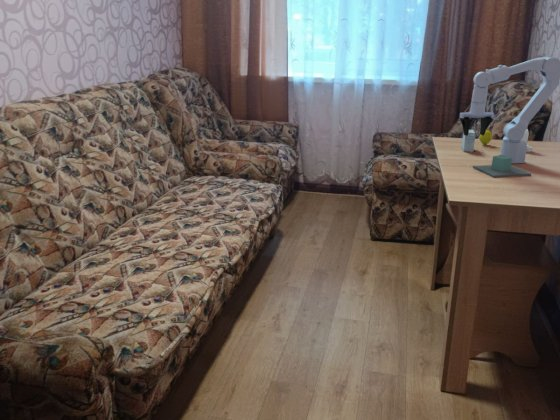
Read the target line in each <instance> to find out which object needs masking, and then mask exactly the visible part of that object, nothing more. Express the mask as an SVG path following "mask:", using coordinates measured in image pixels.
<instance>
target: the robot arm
mask: <svg viewBox="0 0 560 420" xmlns="http://www.w3.org/2000/svg"><path fill="white" fill-rule="evenodd" d="M531 70H534V71H538V72H540V74H541V76H542V80H543V81H542V82H543V83H542V84H541V85H540V87H539V88H538V89H537V91H536V92H535V93H534V95H532V97H531V98H530V100H529V101H528V102H527V103H526V105H525V106H524V107H523V108H522V110H521V111H520V112H519V114H518V115H517V116H515V117H514V118H513V119H512V120H511V121H510V122H508V123H506V124H505V125H504V126H503V130H502V131H503V132H502V133H503V135H504V136H503V138H502V140H501V141H502V143H501V147H500V153H499V154H500V155H504V156H508V157H512V163H511V164H526V156H527V152H526V151H527V145H528V143H527V144H526V142H525V141H523V140H521V139H522V138H523V136H524V132H525V130H526V129H528V126H529V124H530V122H531V121H532V119H533V118H534V117H535V116H536V114H537V113H538V112H539V111H540V110H541V108H542V107H543V106H544V104H545V103H546V102H547V100H548V99H549V98H550V97H551V95H552V94H553V93H554V92H555V91H556V89H557V87H559V85H560V59H559V58H557V57H552V56H550V55H545V56H543V57H536V58H532V59H529V60H526V61H524V62H520V63H517V64H514V65H512V66H511V65H510V66H507V65H502V64H499V65H497V67H494V68H491V69H489V68H487V69H485V71H478V72H477V73H476V74H475V75H474V77H473V78H472V79H473V81H472V82H473V90H472V96H471V100H470V101H471V102H470V108H469V111H466V112H459V120H460V122H461V123H460V124H461V126H462V131H463V132H464V135H466V136H468V133H469V130H470V127H471V123H472V118H475V119H476V118H477V119H478V118H479V119H480V128H479V129H480V130H479V135H480V134H481V135H484V134H485V132H486V129H488V128H489V126H490V125H491V123H492V121H493V118H494V116H495V113H494V112H491V111H490V112H489V111H488V112H486V106H487V99H488V91H489V86H490V85H491V84H492V85H493V84H497V83H500V82H502V81H507V80H508V79H509V78H510V77H511V75H516V74H520V73H523V72H527V71H531ZM463 132H462V133H463Z"/></svg>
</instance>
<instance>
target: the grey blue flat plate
mask: <svg viewBox="0 0 560 420" xmlns="http://www.w3.org/2000/svg"><path fill="white" fill-rule="evenodd" d="M491 166H492V164H489V165H488V164H487V165H485V164H484V165H473V166H472V168H473V169H474V170H477V171H479V172H481V173H483V174H485V175H487V176H489V177H492V178H509V177H513V178H514V177H531V176H532V173H531V172H528V171H526V170H524V169H520V168H518V167H516V166H514V165H511V169H510V170H509V171H503V172H501V171H498V170H494V169H491Z"/></svg>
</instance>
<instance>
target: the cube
mask: <svg viewBox="0 0 560 420" xmlns="http://www.w3.org/2000/svg"><path fill="white" fill-rule="evenodd" d="M512 164H513V163H512V157H508V156H504V155H499V154H498V155H493V156H492V160H491V165H492V166H491V169H494V170H498V171H501V172H503V171H509V170H510V169H511V166H512Z"/></svg>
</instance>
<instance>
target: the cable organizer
mask: <svg viewBox="0 0 560 420" xmlns="http://www.w3.org/2000/svg"><path fill="white" fill-rule="evenodd" d="M521 140H523V141H525V142H526V144H527V151H526V153H527V152H531V153H532V152H533V146H530V145H528V140H529V130H528V128H527V129H526V130H525V132H524V136H523V138H522V139H521Z"/></svg>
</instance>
